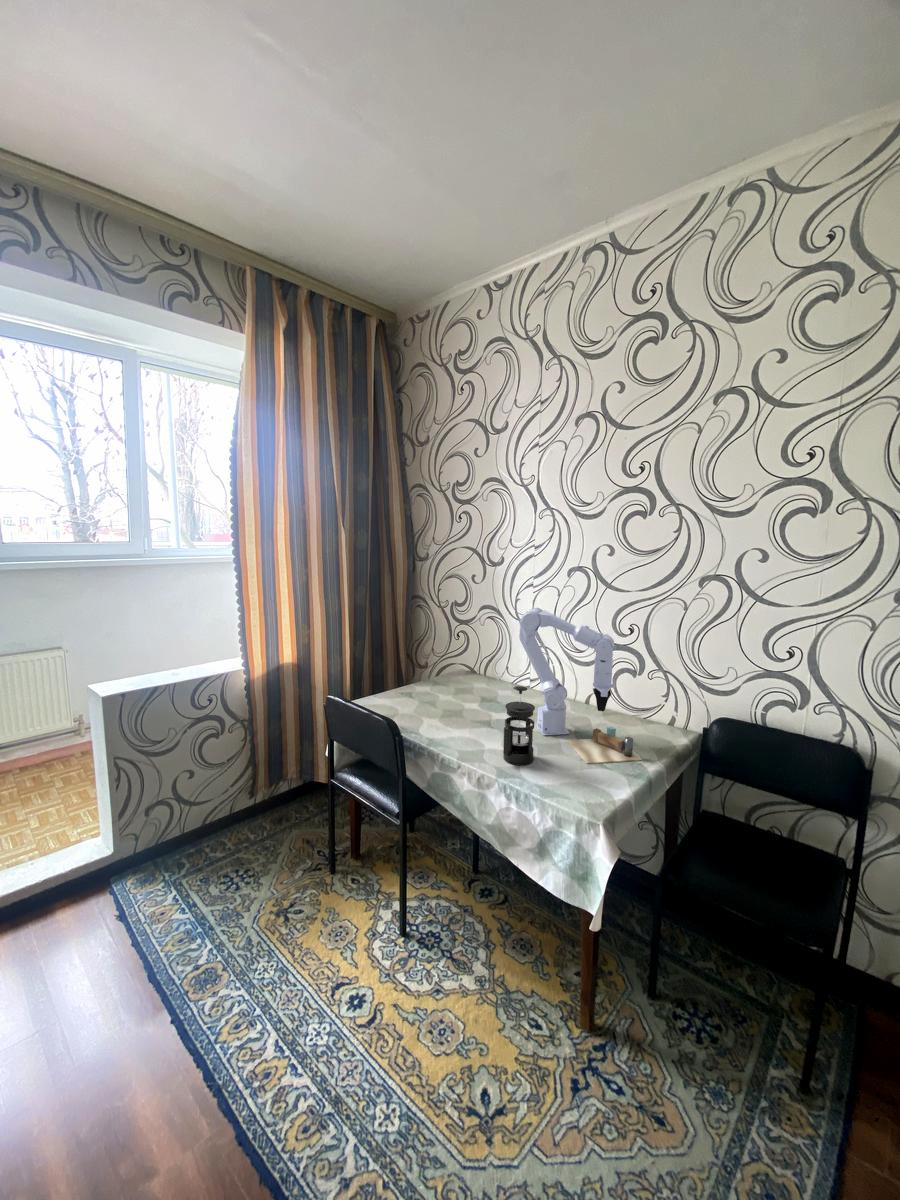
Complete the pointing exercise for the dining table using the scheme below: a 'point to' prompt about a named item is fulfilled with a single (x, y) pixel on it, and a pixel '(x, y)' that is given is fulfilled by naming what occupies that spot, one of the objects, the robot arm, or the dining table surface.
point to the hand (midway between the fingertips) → (600, 710)
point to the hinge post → (628, 746)
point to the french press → (518, 740)
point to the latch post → (611, 731)
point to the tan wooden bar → (608, 740)
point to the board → (599, 752)
